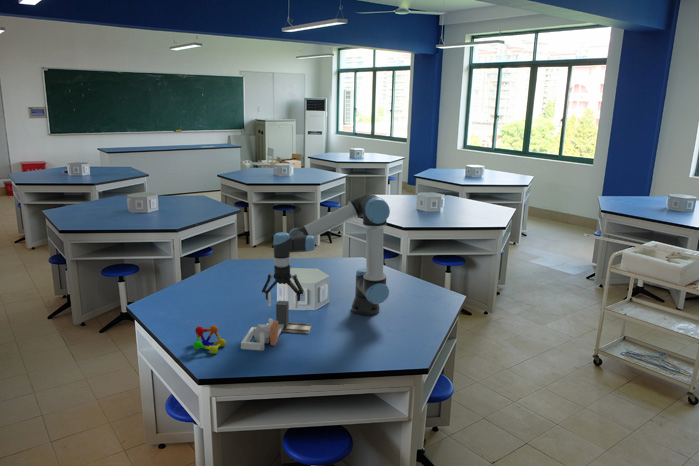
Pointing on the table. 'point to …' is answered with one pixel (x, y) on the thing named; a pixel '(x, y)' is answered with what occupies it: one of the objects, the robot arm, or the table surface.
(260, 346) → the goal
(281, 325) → the rod
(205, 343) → the molecular model
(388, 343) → the table surface
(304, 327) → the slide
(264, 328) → the die
